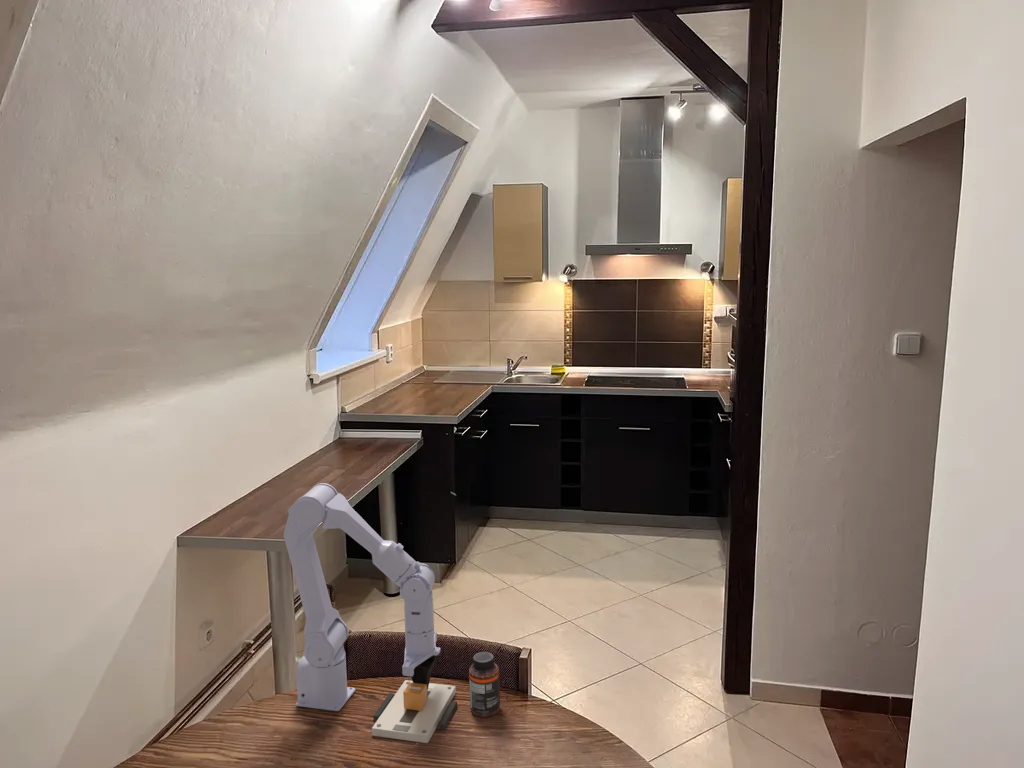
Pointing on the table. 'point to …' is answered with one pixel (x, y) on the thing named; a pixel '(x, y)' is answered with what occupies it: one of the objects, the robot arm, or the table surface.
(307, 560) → the robot arm
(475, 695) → the supplement bottle
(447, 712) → the twin dark grey rails
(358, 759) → the table surface
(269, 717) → the table surface
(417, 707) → the orange cube
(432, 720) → the panel
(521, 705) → the table surface
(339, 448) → the table surface
